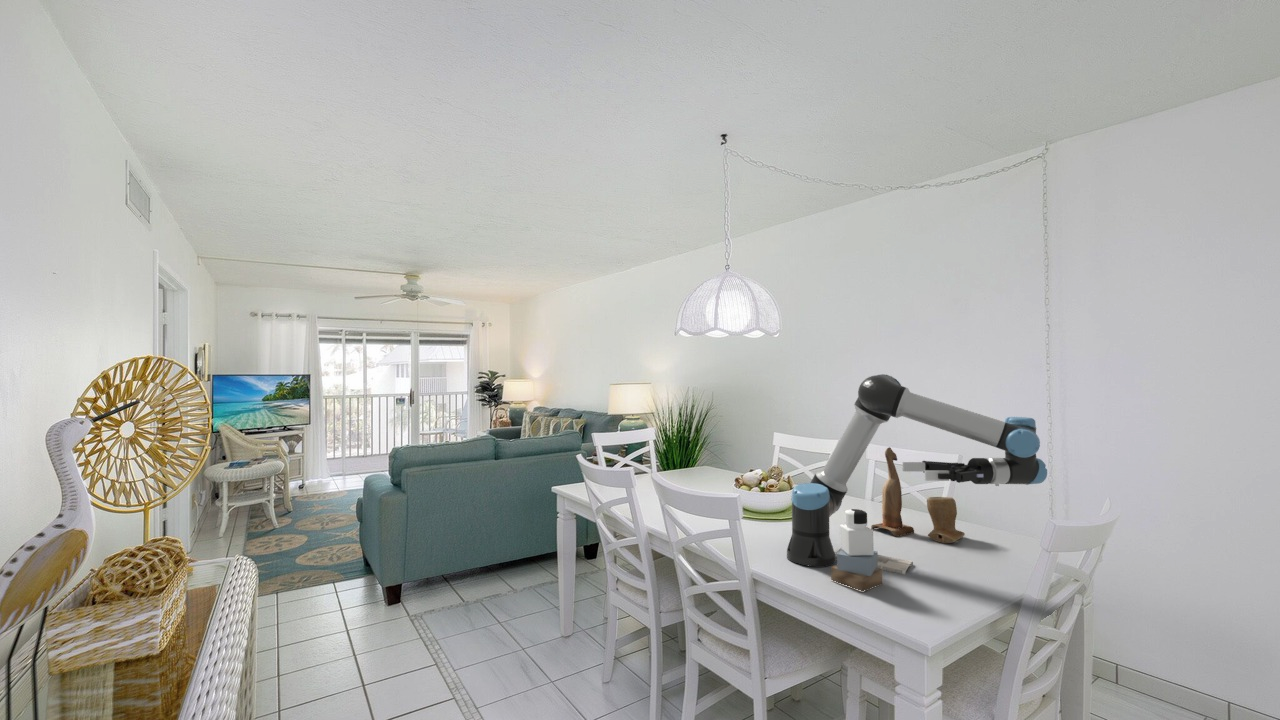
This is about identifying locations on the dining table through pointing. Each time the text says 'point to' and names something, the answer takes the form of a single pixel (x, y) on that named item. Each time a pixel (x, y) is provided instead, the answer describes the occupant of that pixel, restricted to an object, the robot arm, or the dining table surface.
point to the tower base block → (857, 578)
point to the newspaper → (890, 563)
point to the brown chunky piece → (943, 519)
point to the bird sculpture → (892, 500)
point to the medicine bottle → (856, 534)
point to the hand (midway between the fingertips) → (913, 470)
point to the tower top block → (857, 563)
